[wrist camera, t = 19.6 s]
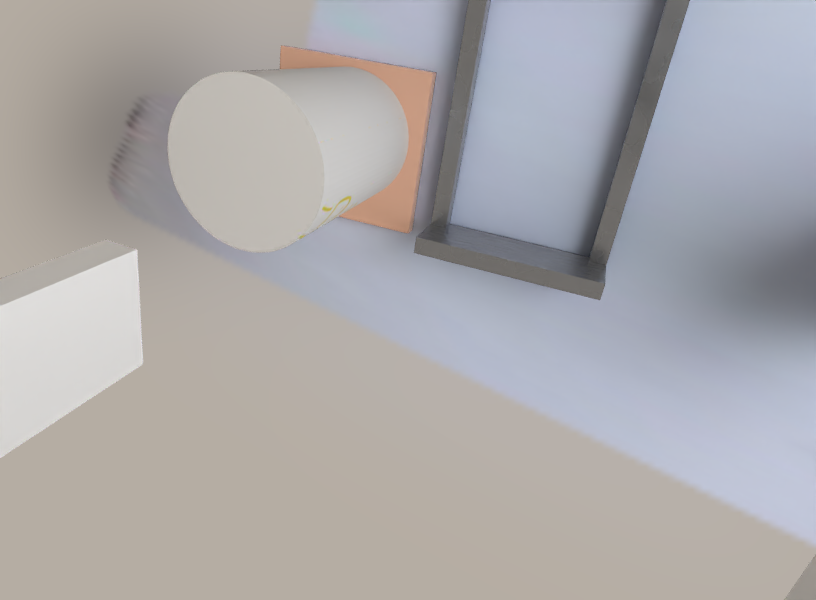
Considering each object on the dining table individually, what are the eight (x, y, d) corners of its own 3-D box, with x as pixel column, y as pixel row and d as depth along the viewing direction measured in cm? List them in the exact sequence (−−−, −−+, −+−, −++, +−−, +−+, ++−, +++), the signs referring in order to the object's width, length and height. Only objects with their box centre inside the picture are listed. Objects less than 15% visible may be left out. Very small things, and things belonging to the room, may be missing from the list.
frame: (491, -112, 30) (475, -135, 26) (715, -89, 27) (731, -111, 24) (432, 234, 38) (413, 252, 35) (601, 275, 36) (599, 300, 32)
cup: (295, 193, 39) (181, 243, 29) (286, 65, 36) (154, 70, 26) (408, 203, 37) (328, 261, 27) (409, 67, 34) (319, 72, 23)
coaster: (287, 45, 37) (280, 45, 36) (436, 72, 34) (432, 72, 34) (279, 197, 41) (273, 200, 40) (412, 230, 39) (408, 233, 38)
